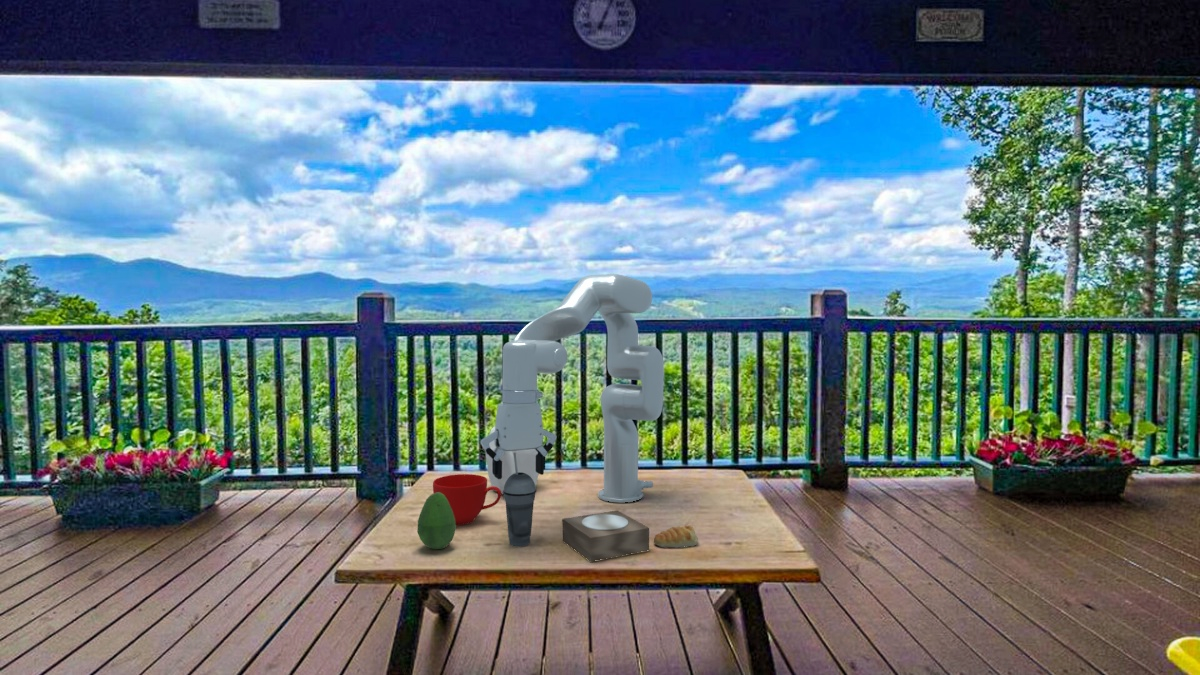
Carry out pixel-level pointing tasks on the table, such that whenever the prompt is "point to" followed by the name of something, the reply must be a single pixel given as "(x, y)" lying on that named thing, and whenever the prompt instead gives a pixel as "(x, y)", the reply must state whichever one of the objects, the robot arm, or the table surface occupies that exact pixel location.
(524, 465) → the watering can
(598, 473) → the table surface
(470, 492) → the ceramic cup
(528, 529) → the beverage cup
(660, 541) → the pastry
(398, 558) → the table surface
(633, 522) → the walnut stand
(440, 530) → the fruit
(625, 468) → the robot arm
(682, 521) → the table surface
